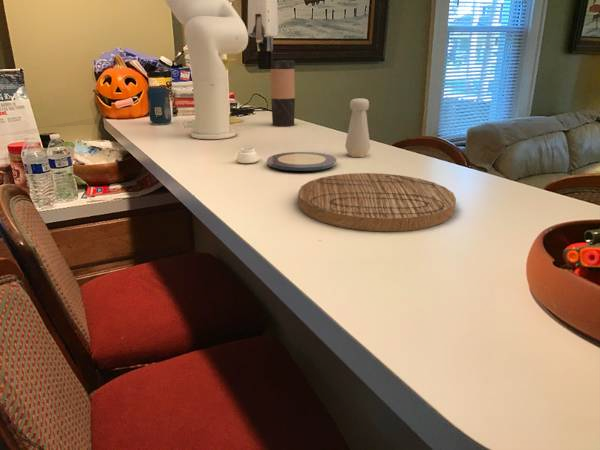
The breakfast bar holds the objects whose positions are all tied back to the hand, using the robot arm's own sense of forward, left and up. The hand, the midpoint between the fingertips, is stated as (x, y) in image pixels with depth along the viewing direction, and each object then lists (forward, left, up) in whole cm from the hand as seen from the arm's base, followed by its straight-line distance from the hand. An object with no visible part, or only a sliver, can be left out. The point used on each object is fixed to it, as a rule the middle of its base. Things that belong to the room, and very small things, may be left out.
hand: (265, 68), depth 112 cm
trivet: (+29, -40, -19) cm, 53 cm away
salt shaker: (+23, -4, -19) cm, 30 cm away
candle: (-26, +42, -19) cm, 53 cm away
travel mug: (-5, +38, -19) cm, 43 cm away
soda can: (-46, +33, -19) cm, 60 cm away
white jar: (0, -15, -19) cm, 25 cm away
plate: (+12, -16, -19) cm, 28 cm away
